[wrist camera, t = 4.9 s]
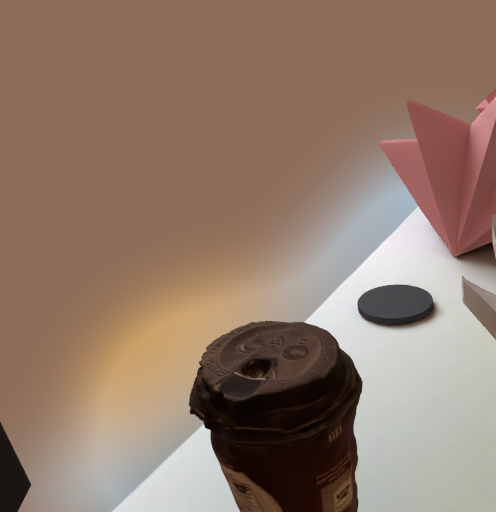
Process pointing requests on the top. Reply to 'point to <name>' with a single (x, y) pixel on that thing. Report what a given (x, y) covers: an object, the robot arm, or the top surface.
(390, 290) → the mat
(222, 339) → the coffee cup
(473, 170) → the sculpture
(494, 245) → the decorative bowl
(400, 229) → the top surface
